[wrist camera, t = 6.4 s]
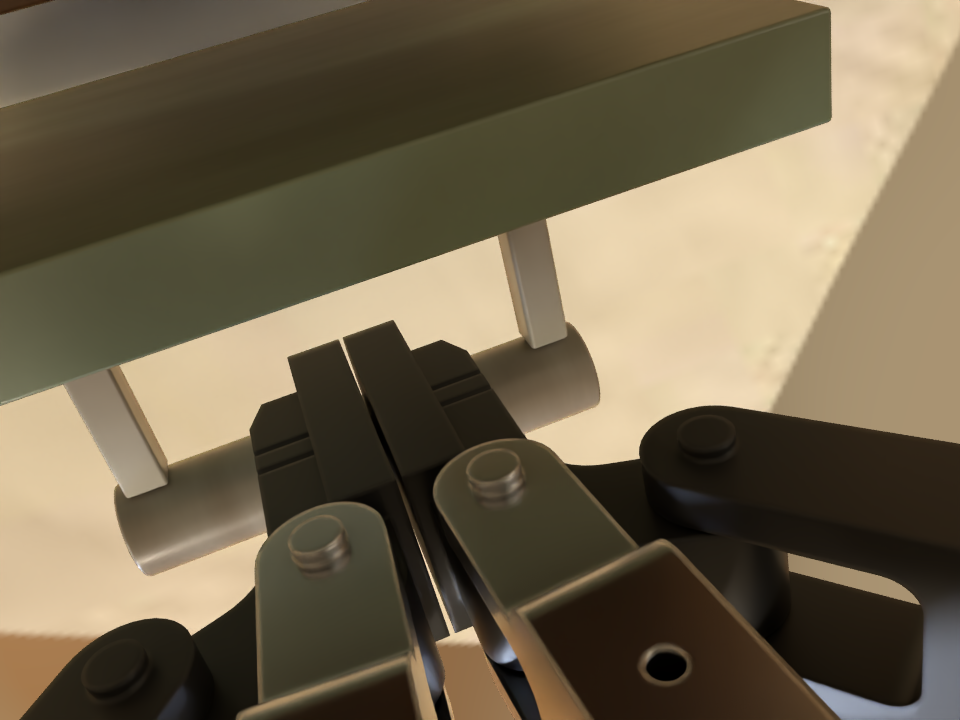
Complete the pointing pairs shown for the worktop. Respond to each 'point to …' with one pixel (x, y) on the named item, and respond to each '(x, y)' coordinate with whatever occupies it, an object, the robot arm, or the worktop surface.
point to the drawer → (355, 194)
